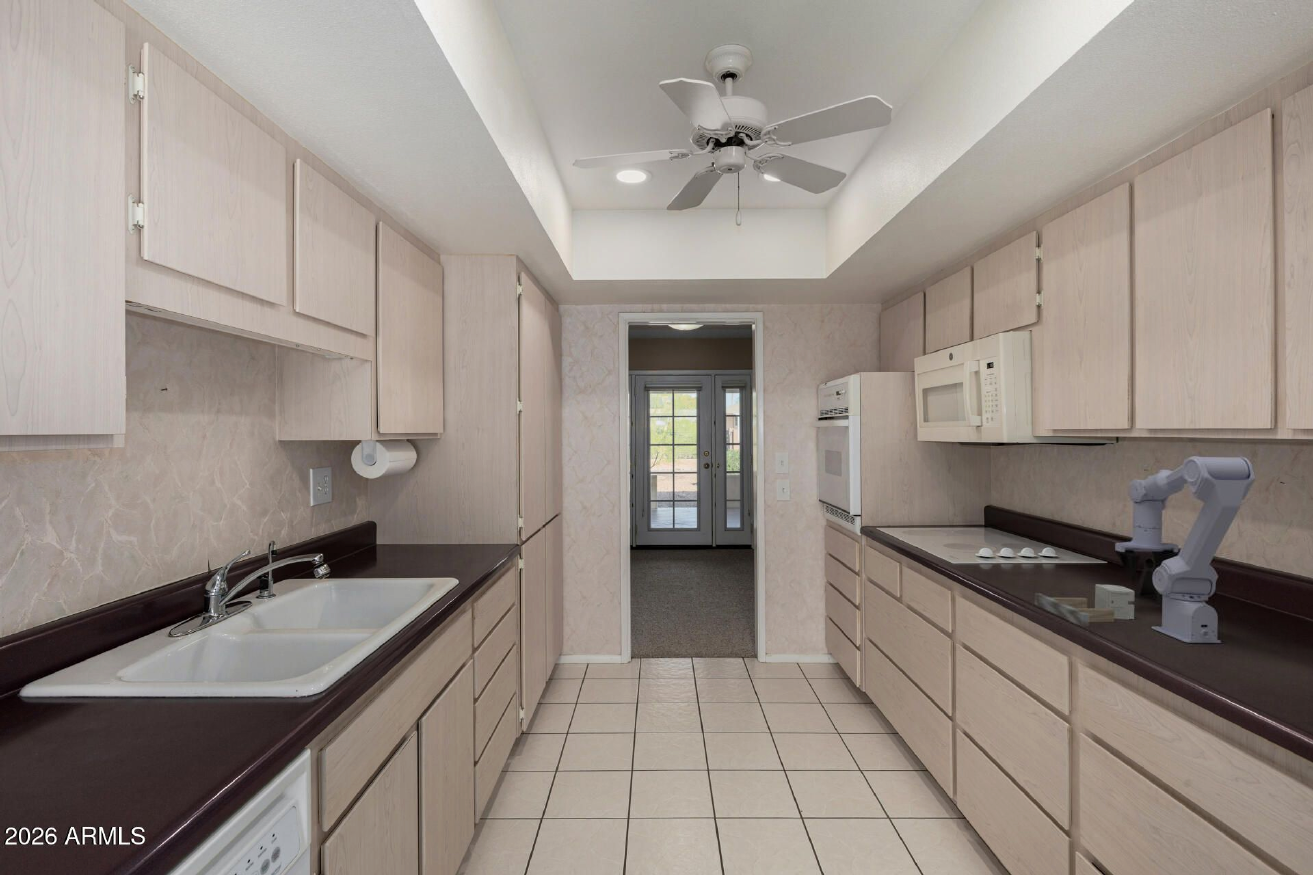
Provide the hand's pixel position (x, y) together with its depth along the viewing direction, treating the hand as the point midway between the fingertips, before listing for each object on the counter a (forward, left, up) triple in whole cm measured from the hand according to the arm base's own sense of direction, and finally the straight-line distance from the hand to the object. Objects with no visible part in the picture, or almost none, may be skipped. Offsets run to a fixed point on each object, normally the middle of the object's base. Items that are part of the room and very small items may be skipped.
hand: (1145, 579), depth 149 cm
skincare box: (0, +8, -10) cm, 13 cm away
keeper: (0, +17, -9) cm, 19 cm away
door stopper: (+14, -15, -10) cm, 23 cm away
